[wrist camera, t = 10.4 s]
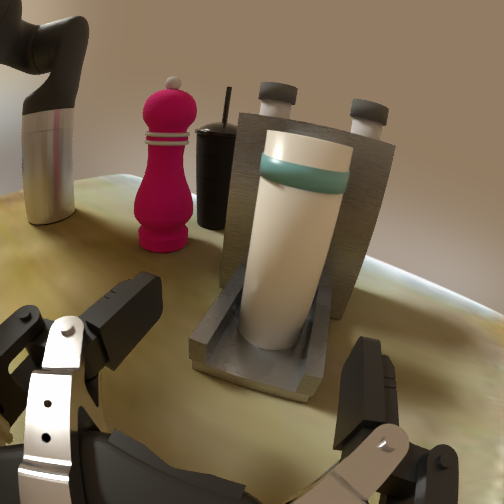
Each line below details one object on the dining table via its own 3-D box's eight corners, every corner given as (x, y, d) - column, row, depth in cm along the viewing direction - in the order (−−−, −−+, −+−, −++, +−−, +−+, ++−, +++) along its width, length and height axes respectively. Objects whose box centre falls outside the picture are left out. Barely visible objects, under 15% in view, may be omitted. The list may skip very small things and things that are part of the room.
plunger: (245, 153, 22) (256, 80, 19) (255, 150, 25) (265, 86, 22) (282, 159, 21) (294, 85, 18) (288, 156, 24) (299, 91, 21)
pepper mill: (151, 226, 36) (159, 81, 27) (198, 235, 36) (214, 81, 27) (124, 248, 30) (129, 74, 21) (179, 260, 29) (194, 70, 20)
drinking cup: (183, 230, 36) (196, 81, 27) (192, 212, 43) (204, 88, 34) (238, 236, 37) (260, 87, 28) (238, 216, 44) (256, 93, 35)
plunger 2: (340, 172, 20) (354, 96, 17) (339, 168, 23) (351, 101, 20) (376, 182, 20) (392, 108, 17) (371, 177, 23) (385, 111, 20)
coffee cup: (226, 338, 19) (254, 128, 12) (248, 299, 23) (275, 130, 17) (296, 359, 18) (359, 150, 11) (306, 315, 22) (351, 146, 16)
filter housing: (166, 357, 17) (165, 101, 10) (241, 256, 32) (262, 117, 25) (333, 409, 15) (449, 157, 8) (341, 282, 30) (379, 143, 23)
